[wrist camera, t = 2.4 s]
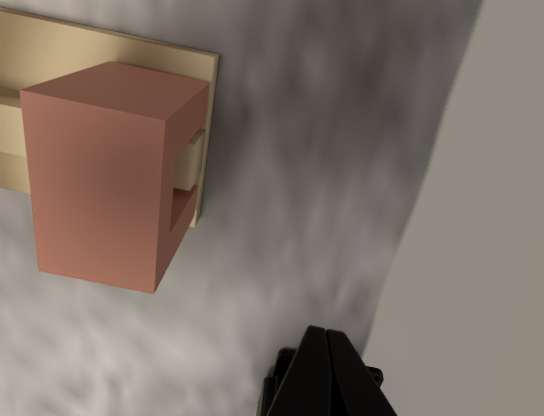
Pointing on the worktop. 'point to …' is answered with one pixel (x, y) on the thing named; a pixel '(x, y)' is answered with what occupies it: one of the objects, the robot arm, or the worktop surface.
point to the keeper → (110, 171)
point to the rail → (80, 55)
